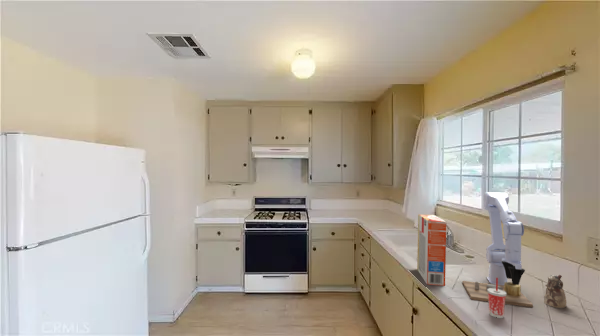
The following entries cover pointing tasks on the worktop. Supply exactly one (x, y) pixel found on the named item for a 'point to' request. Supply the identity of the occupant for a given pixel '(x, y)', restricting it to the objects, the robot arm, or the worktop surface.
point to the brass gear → (512, 289)
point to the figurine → (555, 292)
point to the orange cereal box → (431, 249)
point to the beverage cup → (496, 301)
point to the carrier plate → (480, 293)
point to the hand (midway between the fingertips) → (512, 281)
